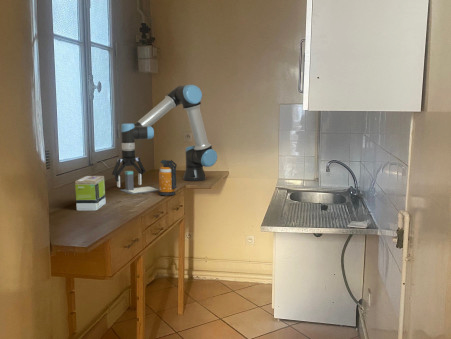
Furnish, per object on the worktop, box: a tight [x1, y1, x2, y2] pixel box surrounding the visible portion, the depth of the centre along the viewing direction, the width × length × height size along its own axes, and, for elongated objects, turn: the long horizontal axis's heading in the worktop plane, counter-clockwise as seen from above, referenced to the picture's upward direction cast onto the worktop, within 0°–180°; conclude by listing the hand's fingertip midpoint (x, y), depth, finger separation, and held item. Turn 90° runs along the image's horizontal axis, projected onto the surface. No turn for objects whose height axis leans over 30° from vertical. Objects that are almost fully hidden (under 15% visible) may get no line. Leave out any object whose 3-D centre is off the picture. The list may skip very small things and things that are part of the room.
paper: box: [119, 185, 159, 195], centre depth 261 cm, size 20×16×1 cm
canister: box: [158, 159, 178, 197], centre depth 246 cm, size 9×11×20 cm
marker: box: [124, 170, 135, 191], centre depth 259 cm, size 4×4×11 cm
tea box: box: [74, 175, 107, 212], centre depth 216 cm, size 15×10×15 cm, turn 178°
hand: (129, 185), depth 260 cm, fingers open, 13 cm apart
